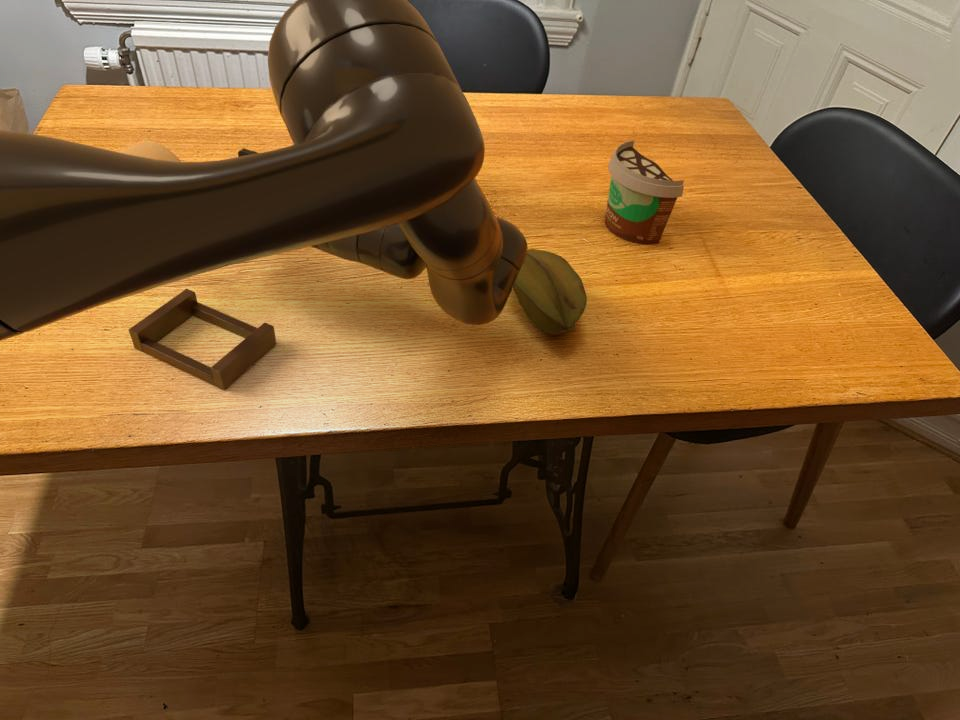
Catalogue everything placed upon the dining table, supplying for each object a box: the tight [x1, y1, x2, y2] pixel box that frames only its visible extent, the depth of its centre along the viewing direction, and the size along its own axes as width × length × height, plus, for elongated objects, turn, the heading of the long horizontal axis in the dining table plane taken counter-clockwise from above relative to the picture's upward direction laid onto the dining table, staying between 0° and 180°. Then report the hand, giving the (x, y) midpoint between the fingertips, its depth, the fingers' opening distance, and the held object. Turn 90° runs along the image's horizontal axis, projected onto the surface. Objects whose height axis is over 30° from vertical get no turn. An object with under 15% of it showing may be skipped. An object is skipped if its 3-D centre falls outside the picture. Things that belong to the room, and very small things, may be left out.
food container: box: [604, 139, 685, 245], centre depth 93 cm, size 12×6×10 cm, turn 25°
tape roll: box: [118, 139, 182, 162], centre depth 83 cm, size 4×10×10 cm, turn 64°
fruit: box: [512, 248, 588, 335], centre depth 79 cm, size 11×12×7 cm
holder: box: [128, 288, 277, 391], centre depth 71 cm, size 8×12×2 cm
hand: (214, 172), depth 76 cm, fingers open, 8 cm apart
